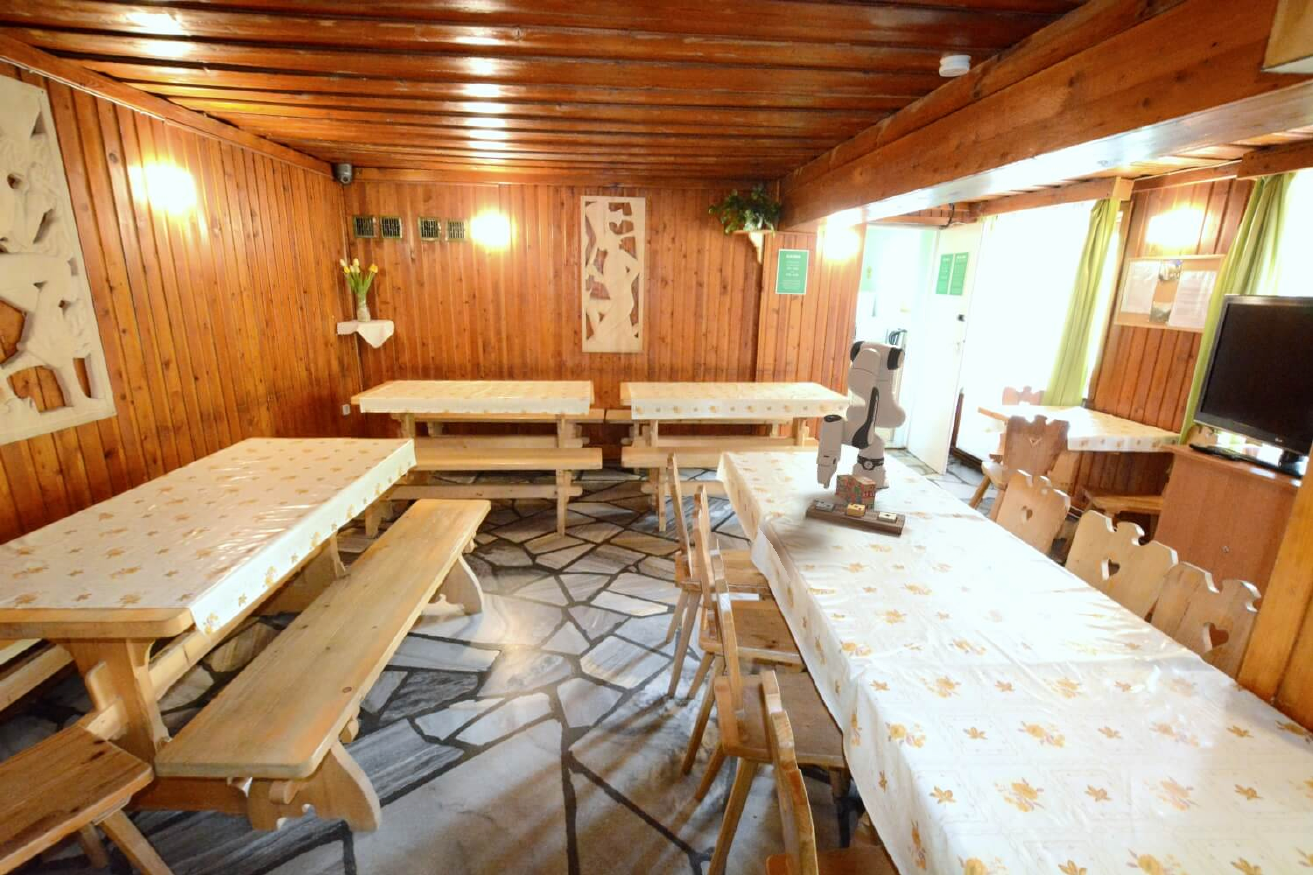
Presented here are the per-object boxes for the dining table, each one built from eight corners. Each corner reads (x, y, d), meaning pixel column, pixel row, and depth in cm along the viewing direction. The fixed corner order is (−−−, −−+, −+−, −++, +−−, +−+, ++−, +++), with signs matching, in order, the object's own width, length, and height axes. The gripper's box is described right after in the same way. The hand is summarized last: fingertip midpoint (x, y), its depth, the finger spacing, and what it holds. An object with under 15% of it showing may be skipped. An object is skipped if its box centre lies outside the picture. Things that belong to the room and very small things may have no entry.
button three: (848, 512, 237) (849, 502, 236) (864, 515, 234) (865, 505, 233) (846, 517, 231) (847, 507, 230) (861, 520, 229) (862, 510, 228)
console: (813, 506, 247) (814, 499, 246) (904, 522, 231) (905, 515, 230) (805, 517, 235) (806, 510, 234) (901, 534, 219) (901, 527, 218)
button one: (879, 520, 232) (880, 511, 231) (895, 523, 229) (896, 513, 228) (877, 526, 226) (878, 516, 225) (893, 529, 224) (895, 519, 223)
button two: (818, 509, 242) (819, 500, 241) (833, 512, 240) (834, 503, 239) (815, 514, 237) (816, 505, 236) (830, 517, 234) (831, 507, 233)
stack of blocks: (834, 494, 262) (837, 468, 259) (847, 493, 264) (849, 467, 260) (860, 511, 242) (863, 483, 239) (874, 510, 243) (877, 482, 240)
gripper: (826, 447, 243) (824, 478, 247) (815, 460, 225) (812, 494, 229) (842, 449, 240) (839, 481, 244) (831, 463, 223) (828, 497, 226)
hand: (826, 487), depth 236 cm, fingers closed
